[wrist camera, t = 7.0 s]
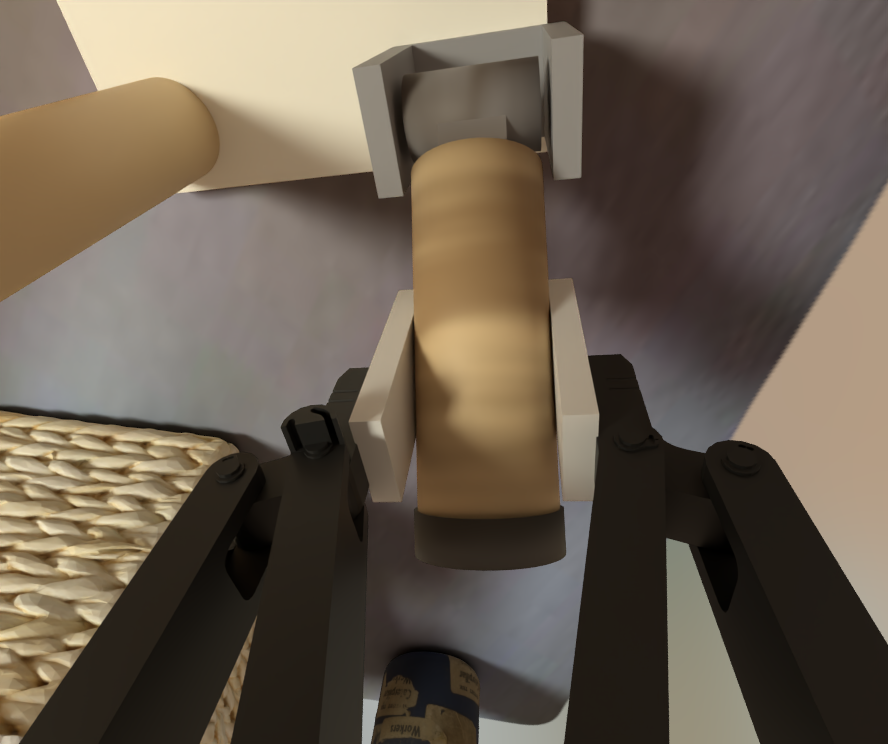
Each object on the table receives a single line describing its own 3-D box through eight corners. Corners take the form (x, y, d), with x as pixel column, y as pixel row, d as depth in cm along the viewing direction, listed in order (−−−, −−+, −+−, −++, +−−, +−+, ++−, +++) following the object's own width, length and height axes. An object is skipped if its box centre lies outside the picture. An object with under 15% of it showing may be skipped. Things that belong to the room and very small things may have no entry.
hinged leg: (421, 121, 19) (390, 35, 15) (539, 107, 18) (541, 11, 14) (430, 536, 17) (398, 569, 13) (562, 537, 17) (571, 571, 12)
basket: (35, 594, 52) (-204, 898, 35) (-134, 379, 36) (-730, 743, 19) (301, 625, 50) (189, 964, 33) (245, 414, 34) (-27, 854, 17)
